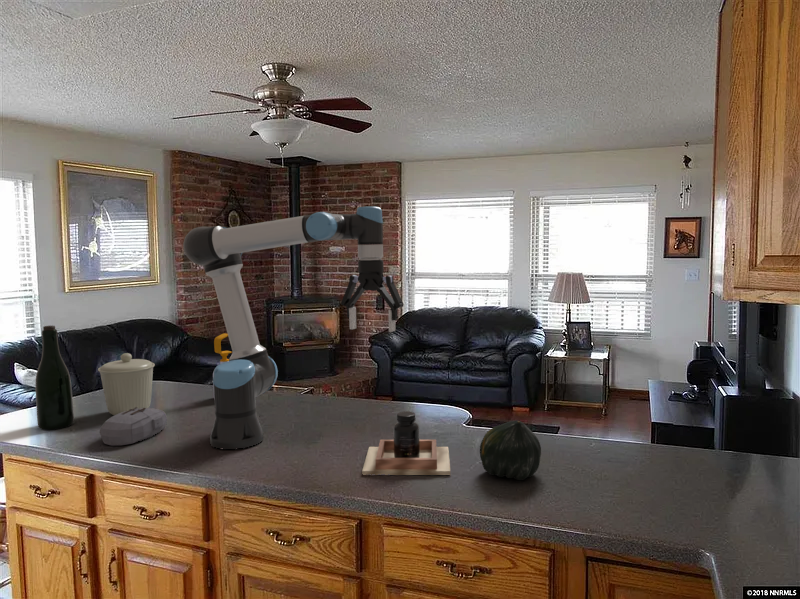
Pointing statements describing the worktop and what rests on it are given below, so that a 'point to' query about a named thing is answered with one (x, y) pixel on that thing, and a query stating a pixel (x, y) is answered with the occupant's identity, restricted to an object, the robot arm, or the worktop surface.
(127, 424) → the soft grey pack
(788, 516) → the worktop surface
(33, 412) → the worktop surface
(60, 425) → the wine bottle
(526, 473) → the squash
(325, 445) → the worktop surface
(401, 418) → the supplement bottle
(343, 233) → the robot arm
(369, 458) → the pocket board
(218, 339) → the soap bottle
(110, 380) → the canister
